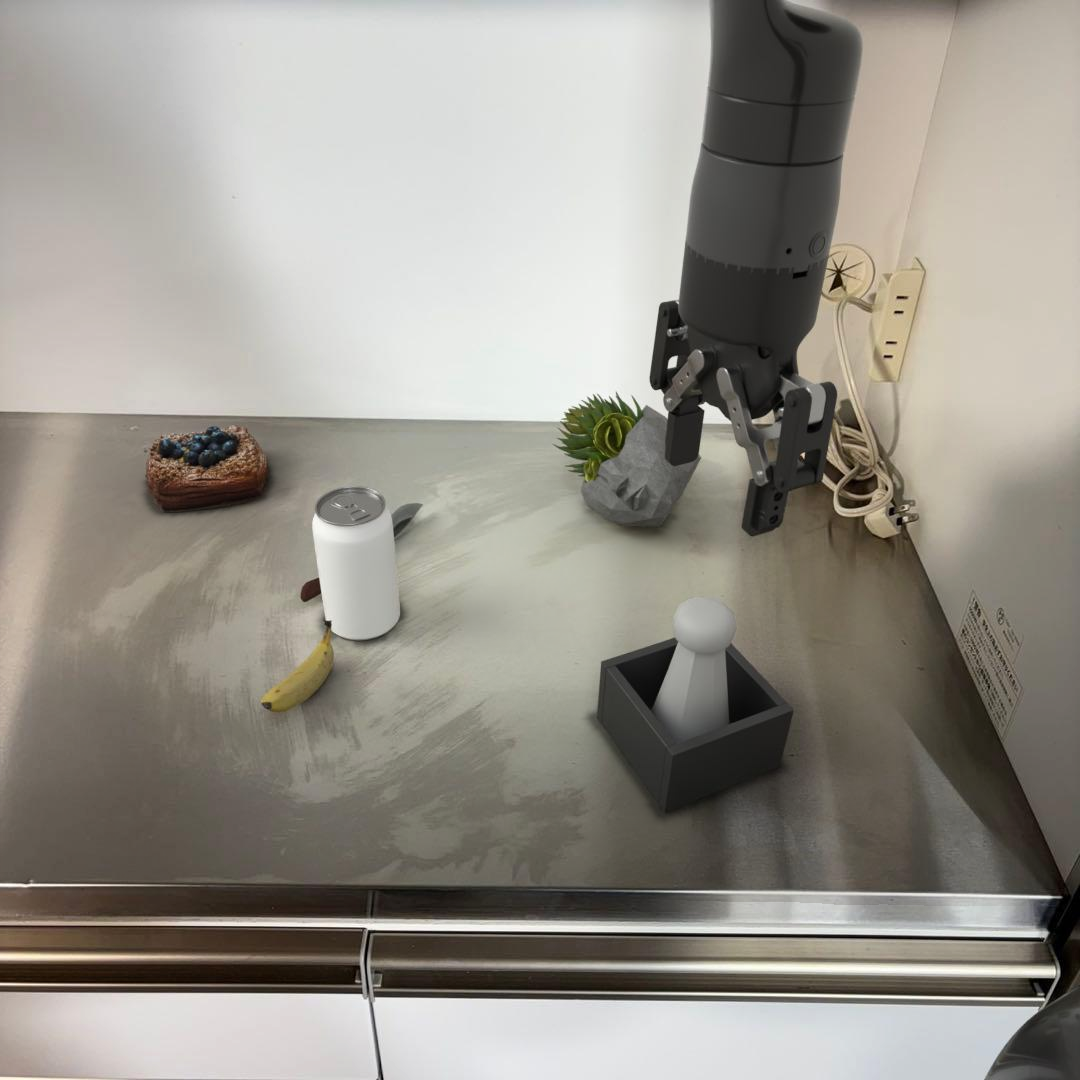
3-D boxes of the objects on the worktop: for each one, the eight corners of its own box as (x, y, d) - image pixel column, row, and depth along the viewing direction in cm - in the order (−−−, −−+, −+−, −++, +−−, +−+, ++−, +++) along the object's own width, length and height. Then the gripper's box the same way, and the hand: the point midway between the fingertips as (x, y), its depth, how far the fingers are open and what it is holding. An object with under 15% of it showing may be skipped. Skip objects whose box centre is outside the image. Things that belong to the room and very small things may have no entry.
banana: (286, 743, 73) (279, 705, 71) (258, 735, 74) (250, 698, 71) (347, 656, 81) (342, 620, 78) (321, 650, 81) (316, 614, 79)
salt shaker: (730, 771, 72) (756, 639, 64) (652, 771, 71) (669, 638, 64) (717, 713, 76) (740, 584, 69) (645, 713, 76) (660, 583, 69)
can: (375, 586, 88) (364, 474, 81) (415, 622, 84) (406, 508, 77) (312, 614, 85) (294, 500, 78) (350, 654, 81) (335, 537, 74)
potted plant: (645, 542, 89) (512, 461, 92) (659, 552, 101) (541, 480, 105) (715, 430, 88) (578, 352, 92) (720, 453, 101) (599, 384, 104)
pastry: (149, 464, 105) (137, 416, 101) (262, 447, 108) (254, 400, 105) (151, 519, 96) (138, 469, 93) (274, 499, 100) (266, 450, 96)
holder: (780, 766, 72) (794, 709, 69) (664, 813, 68) (672, 755, 65) (705, 680, 79) (714, 624, 76) (596, 717, 76) (600, 661, 72)
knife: (417, 510, 99) (416, 485, 97) (430, 514, 98) (428, 489, 96) (298, 611, 85) (293, 585, 84) (311, 617, 85) (307, 590, 83)
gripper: (627, 206, 55) (609, 453, 64) (784, 295, 44) (735, 574, 54) (737, 191, 57) (704, 430, 67) (908, 272, 47) (840, 541, 57)
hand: (718, 494), depth 60 cm, fingers open, 8 cm apart
